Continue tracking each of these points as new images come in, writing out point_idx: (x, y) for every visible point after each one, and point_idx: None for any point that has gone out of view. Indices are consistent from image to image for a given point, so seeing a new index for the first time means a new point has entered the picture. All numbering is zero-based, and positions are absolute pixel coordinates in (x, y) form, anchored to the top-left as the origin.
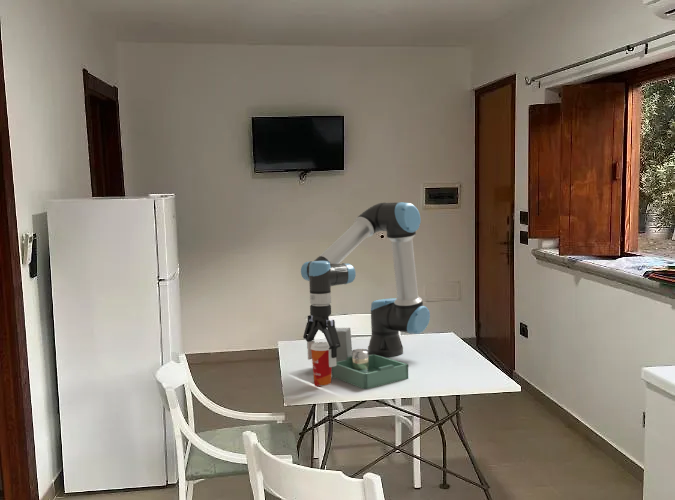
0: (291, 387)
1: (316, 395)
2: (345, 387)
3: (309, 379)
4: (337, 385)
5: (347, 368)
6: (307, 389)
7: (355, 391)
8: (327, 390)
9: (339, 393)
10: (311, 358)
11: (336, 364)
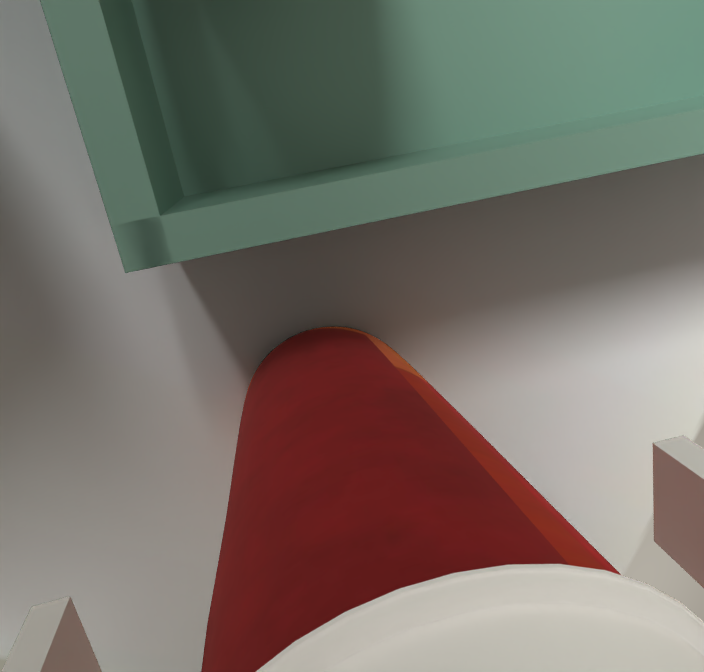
0: None
1: None
2: (529, 236)
3: (74, 465)
4: (426, 281)
5: (561, 182)
6: None
7: (687, 204)
8: (510, 422)
9: (642, 360)
10: (93, 665)
11: (259, 239)
